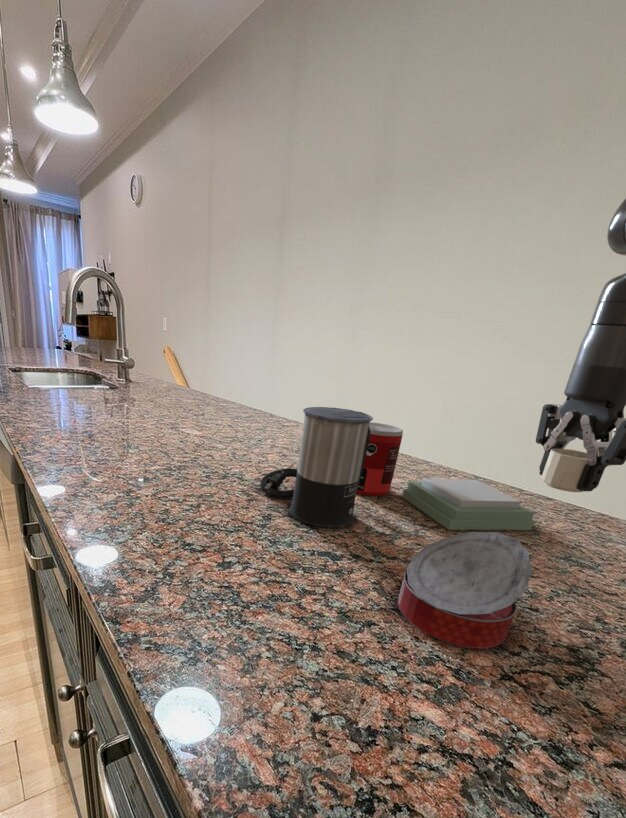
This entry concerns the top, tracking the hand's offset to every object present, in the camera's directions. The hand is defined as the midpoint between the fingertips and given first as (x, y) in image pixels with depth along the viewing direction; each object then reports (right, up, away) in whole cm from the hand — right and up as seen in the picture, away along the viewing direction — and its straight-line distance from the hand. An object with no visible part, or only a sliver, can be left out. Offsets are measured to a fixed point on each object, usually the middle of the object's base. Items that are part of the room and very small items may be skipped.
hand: (564, 482), depth 66 cm
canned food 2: (-28, -15, -23) cm, 38 cm away
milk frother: (-38, -4, +2) cm, 39 cm away
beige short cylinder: (0, -1, 0) cm, 1 cm away
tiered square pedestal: (-12, -2, +4) cm, 13 cm away
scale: (-13, -5, +5) cm, 14 cm away
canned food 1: (-26, -1, +12) cm, 29 cm away
